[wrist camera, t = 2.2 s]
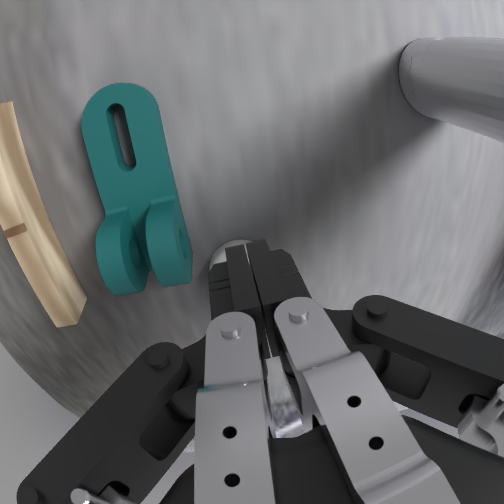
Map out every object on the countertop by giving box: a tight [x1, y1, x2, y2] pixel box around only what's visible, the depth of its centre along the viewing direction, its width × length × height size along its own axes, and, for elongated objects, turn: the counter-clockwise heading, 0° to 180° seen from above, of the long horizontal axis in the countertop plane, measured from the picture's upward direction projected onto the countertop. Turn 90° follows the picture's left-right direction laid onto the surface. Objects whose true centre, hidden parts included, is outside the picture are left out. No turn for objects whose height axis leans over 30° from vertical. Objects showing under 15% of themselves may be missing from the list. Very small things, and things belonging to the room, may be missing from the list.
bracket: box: [81, 83, 192, 296], centre depth 24 cm, size 18×7×8 cm, turn 8°
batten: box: [0, 101, 87, 327], centre depth 24 cm, size 3×24×5 cm, turn 9°
